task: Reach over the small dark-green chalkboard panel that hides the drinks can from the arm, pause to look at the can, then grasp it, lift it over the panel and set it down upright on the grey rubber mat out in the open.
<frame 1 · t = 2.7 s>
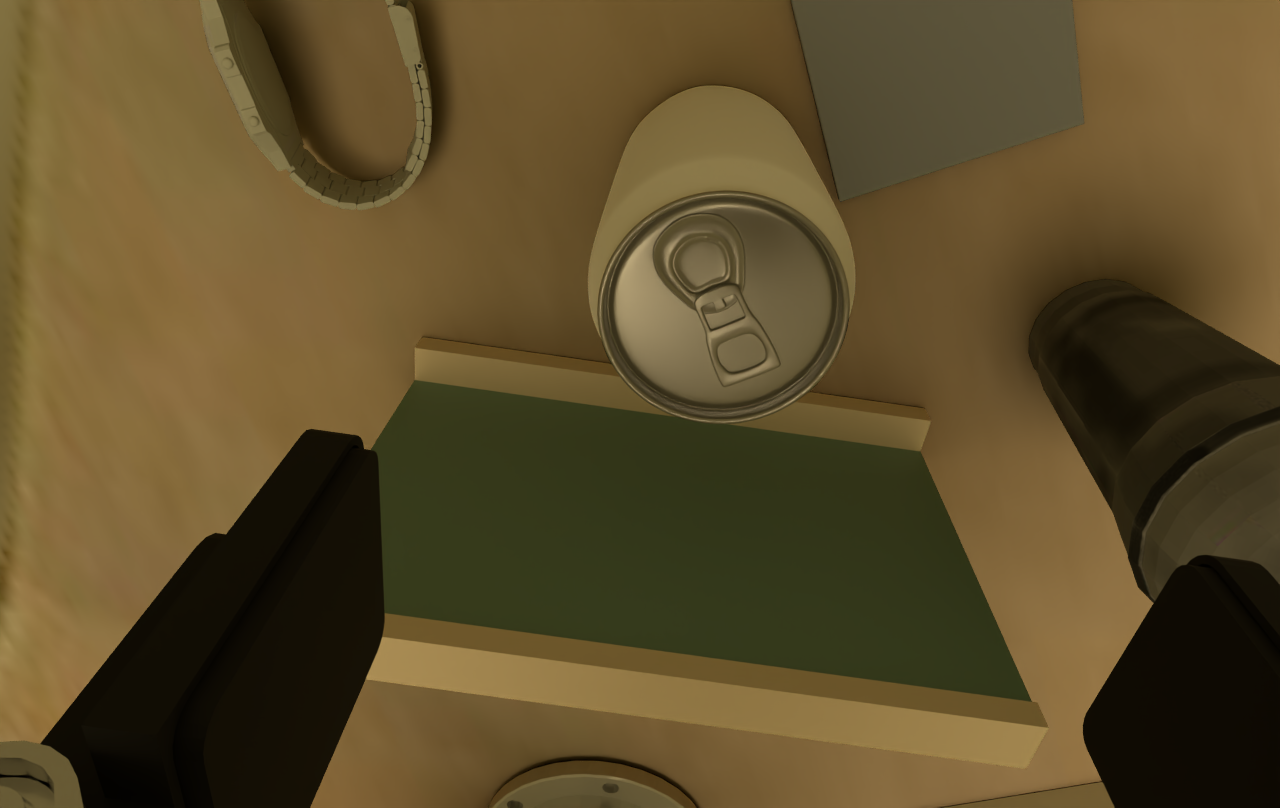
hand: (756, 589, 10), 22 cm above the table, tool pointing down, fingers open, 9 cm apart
chalkboard panel: (667, 416, 34), on the table
can: (711, 179, 29), on the table
wristwatch: (353, 52, 28), on the table
beverage cup: (1089, 333, 31), on the table
grey mat: (934, 40, 26), on the table
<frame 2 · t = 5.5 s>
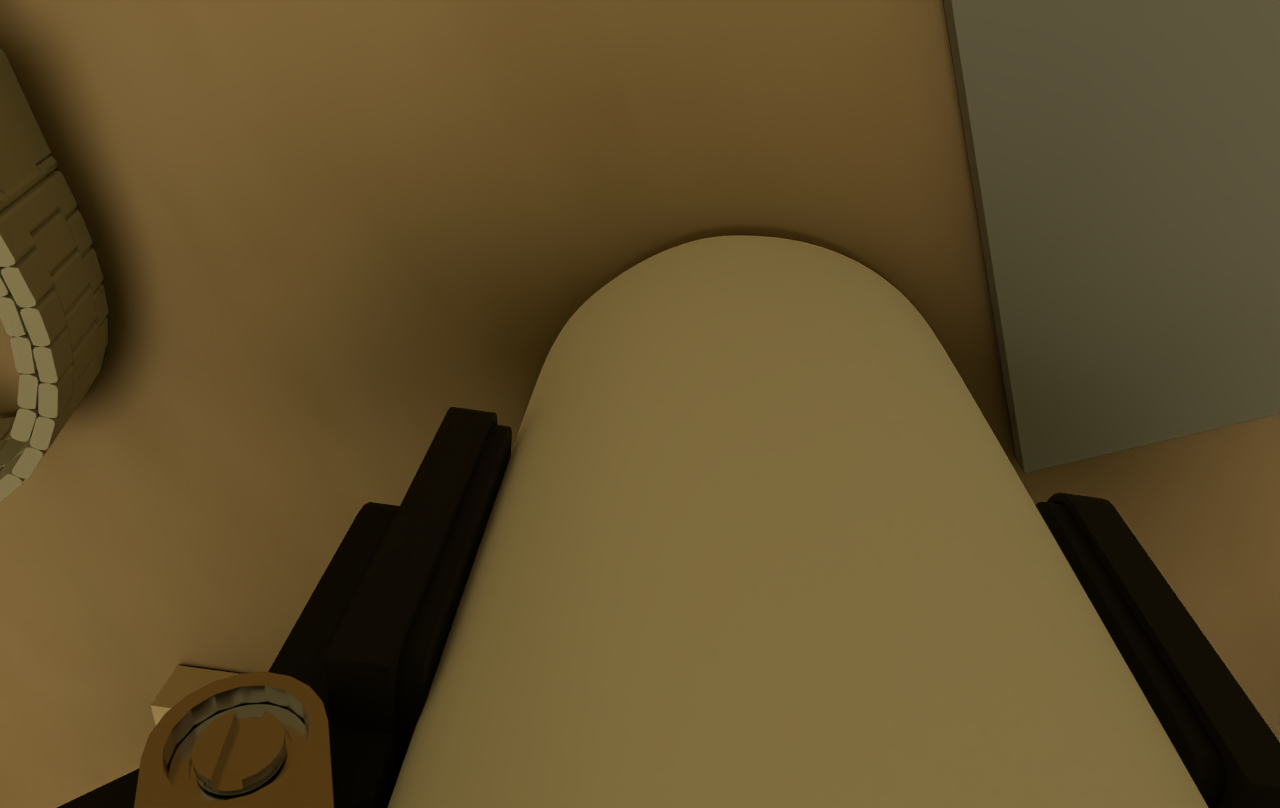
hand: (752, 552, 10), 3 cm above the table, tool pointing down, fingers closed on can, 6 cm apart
chalkboard panel: (649, 790, 18), on the table
can: (737, 414, 13), on the table, touching gripper
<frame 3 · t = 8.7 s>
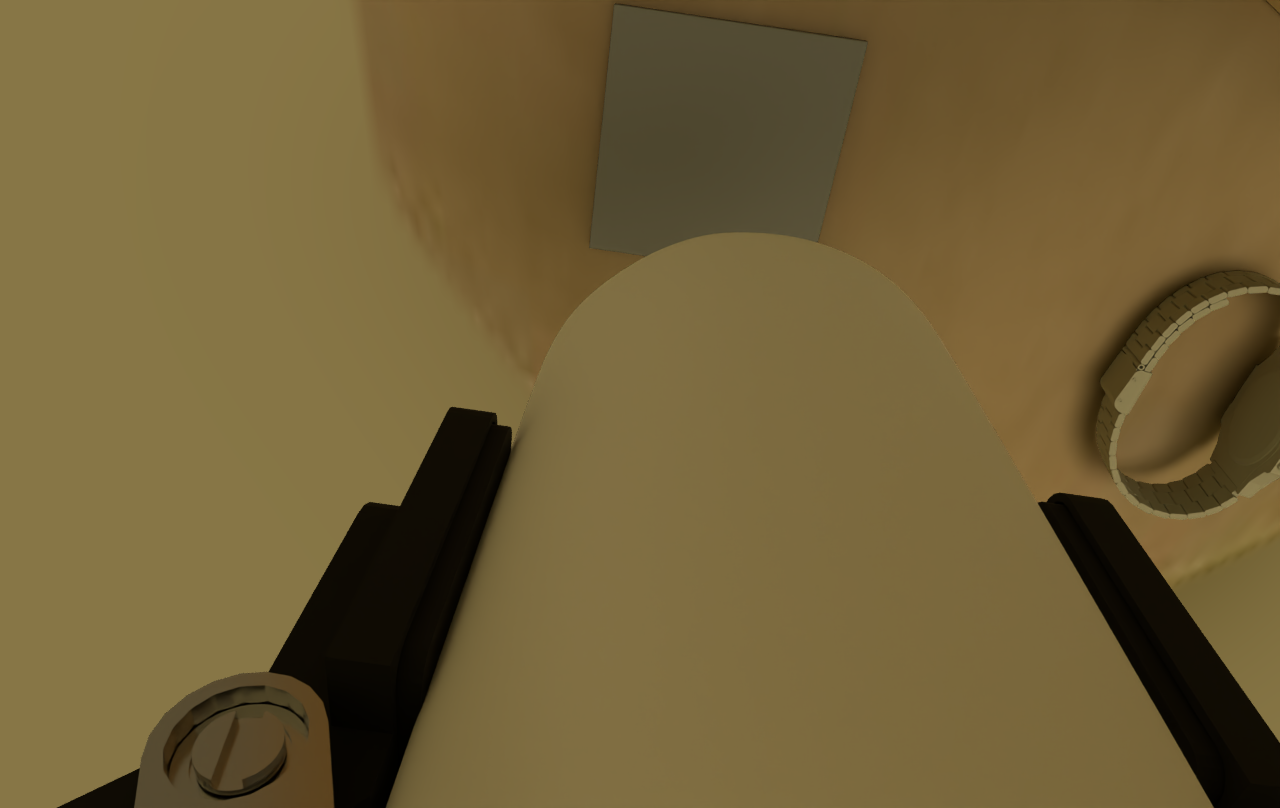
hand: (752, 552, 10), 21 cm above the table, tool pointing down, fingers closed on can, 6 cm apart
can: (738, 411, 13), point 17 cm above the table, touching gripper
wristwatch: (1172, 369, 32), on the table
grey mat: (718, 149, 28), on the table
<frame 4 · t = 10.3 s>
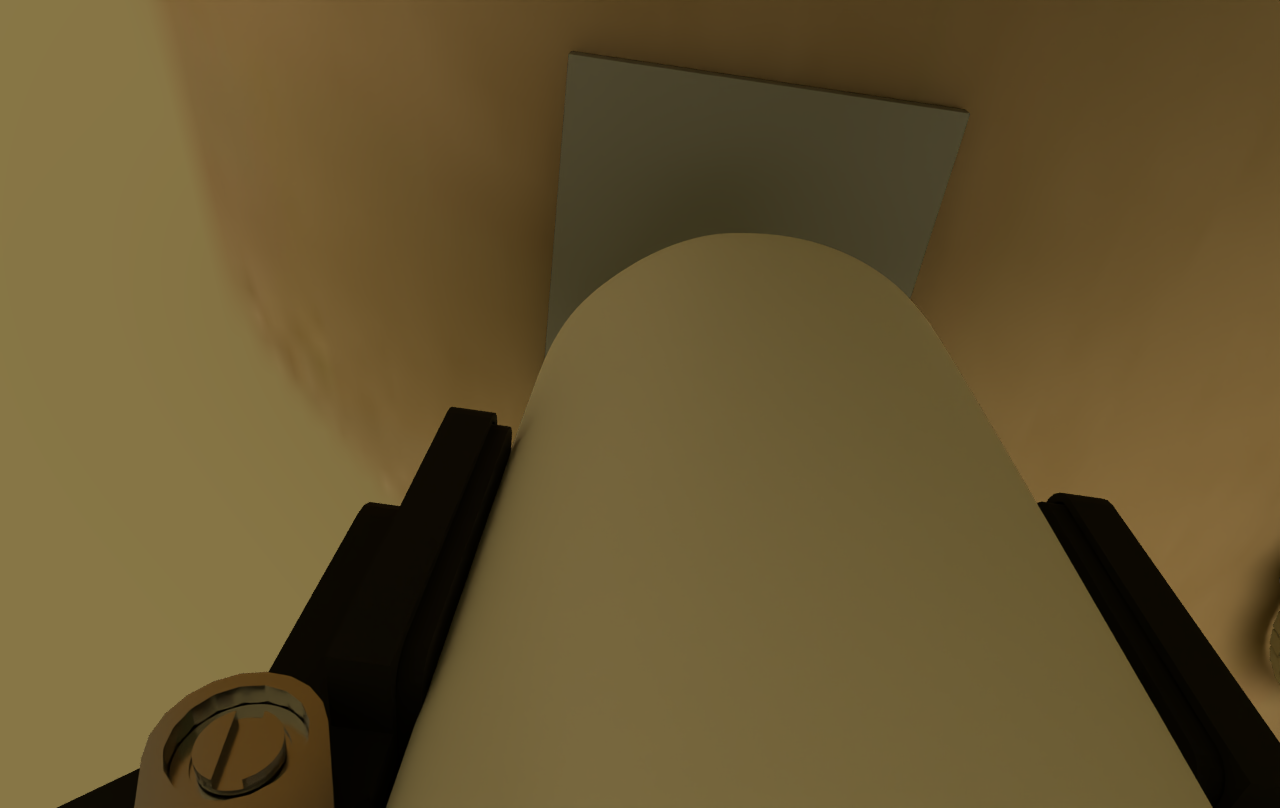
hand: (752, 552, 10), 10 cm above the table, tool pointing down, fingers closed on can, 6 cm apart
can: (738, 412, 13), point 6 cm above the table, touching gripper
grey mat: (731, 266, 19), on the table
when the fingers open (5 cm above the table, at t = 11.9 s): can drops 1 cm, resting on grey mat.
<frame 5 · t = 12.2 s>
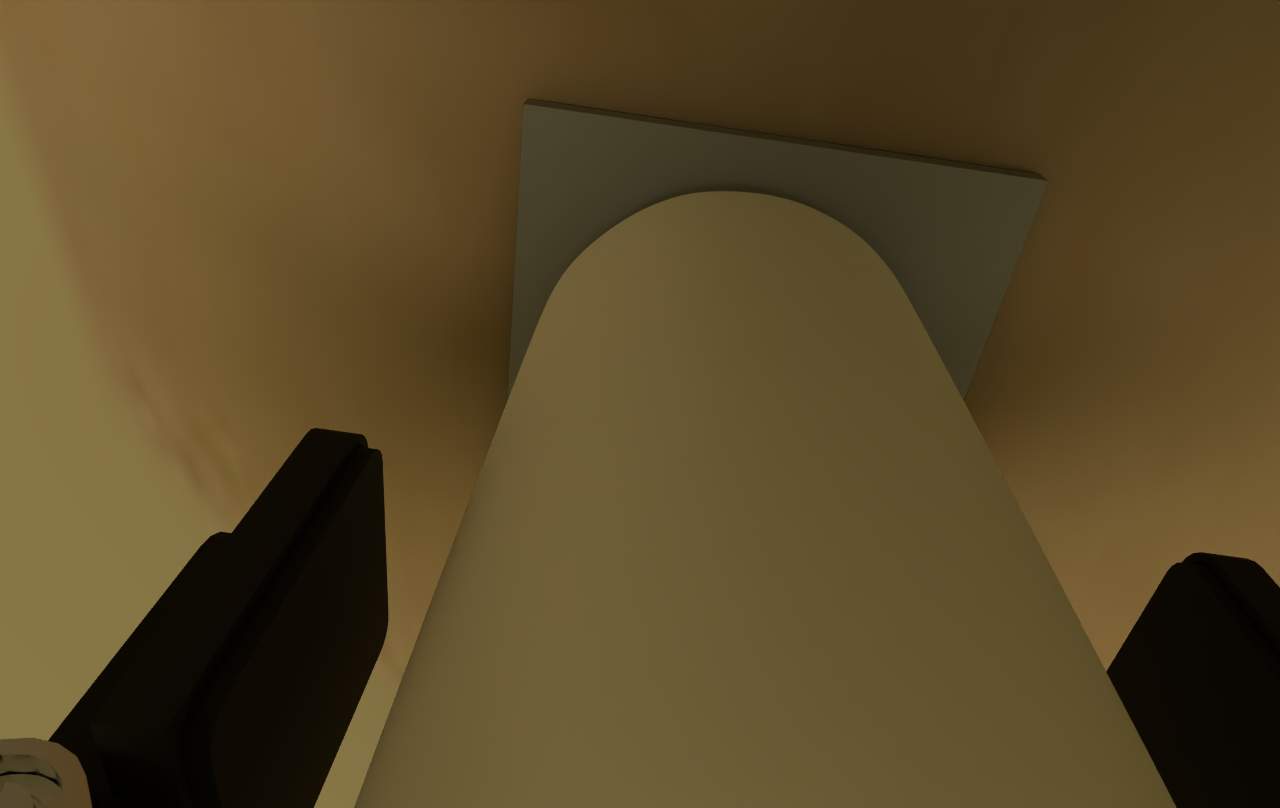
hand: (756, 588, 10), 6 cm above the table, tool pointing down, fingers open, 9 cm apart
can: (721, 360, 15), resting on grey mat
grey mat: (736, 363, 15), on the table
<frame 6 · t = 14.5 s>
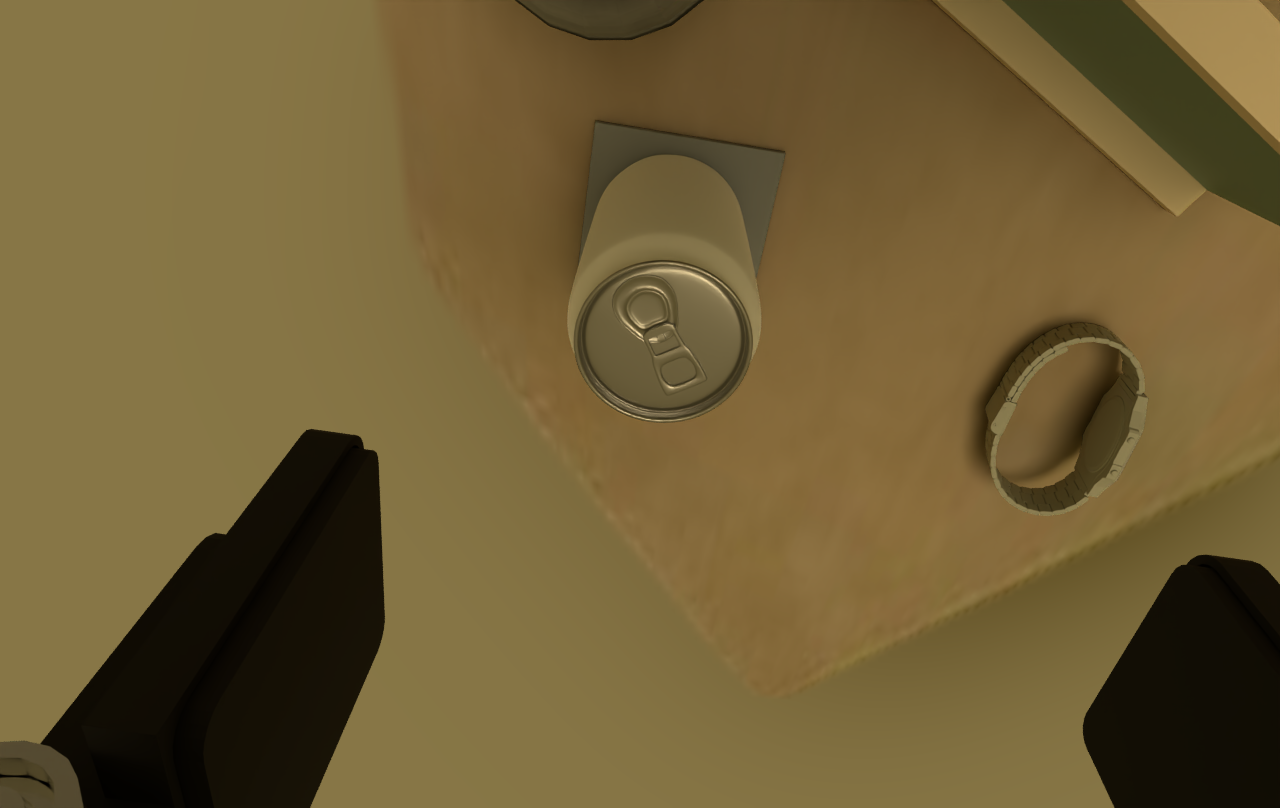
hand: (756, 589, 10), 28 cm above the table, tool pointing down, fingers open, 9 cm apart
chalkboard panel: (1040, 17, 32), on the table
can: (668, 225, 36), resting on grey mat
wristwatch: (1041, 397, 41), on the table
grey mat: (674, 227, 37), on the table
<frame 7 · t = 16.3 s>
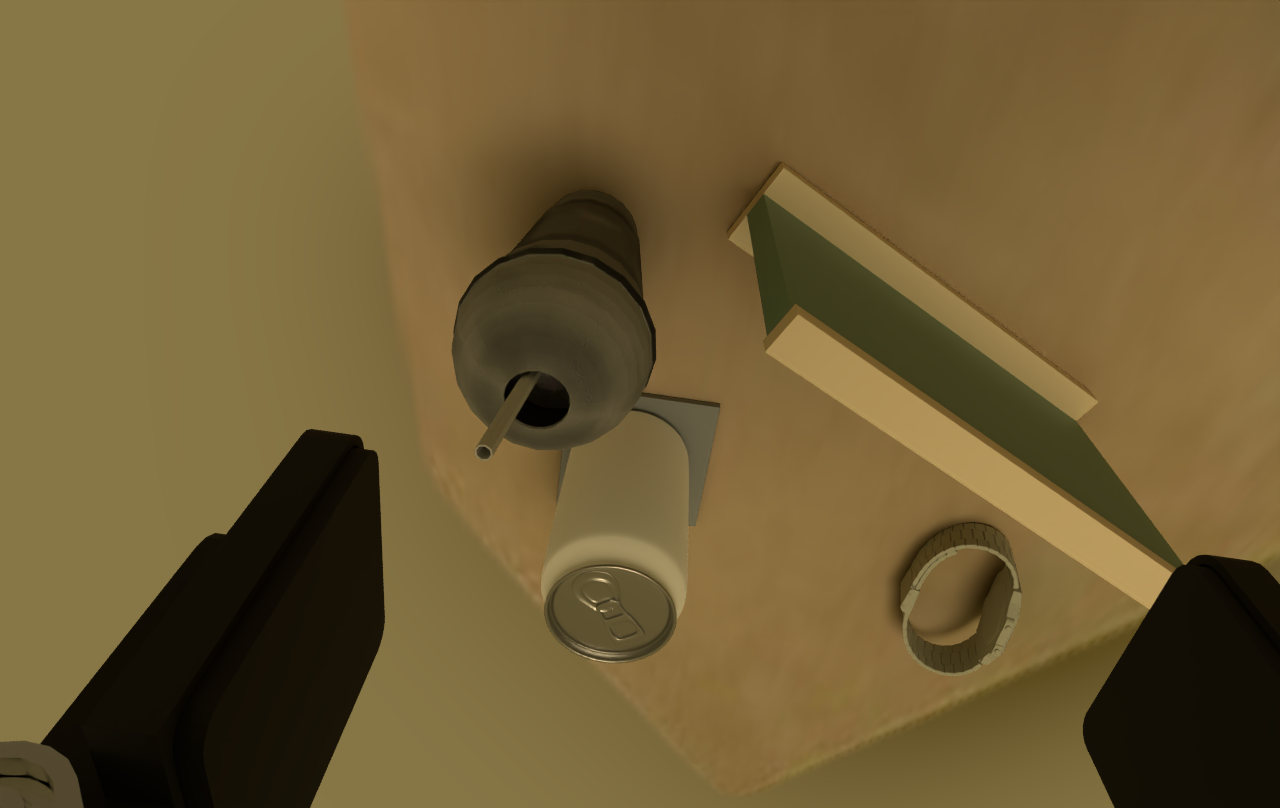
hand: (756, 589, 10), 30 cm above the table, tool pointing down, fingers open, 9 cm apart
chalkboard panel: (915, 315, 40), on the table
can: (630, 454, 45), resting on grey mat
wristwatch: (947, 574, 49), on the table
beverage cup: (590, 235, 40), on the table
grey mat: (635, 455, 46), on the table
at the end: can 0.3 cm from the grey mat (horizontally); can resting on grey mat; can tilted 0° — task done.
